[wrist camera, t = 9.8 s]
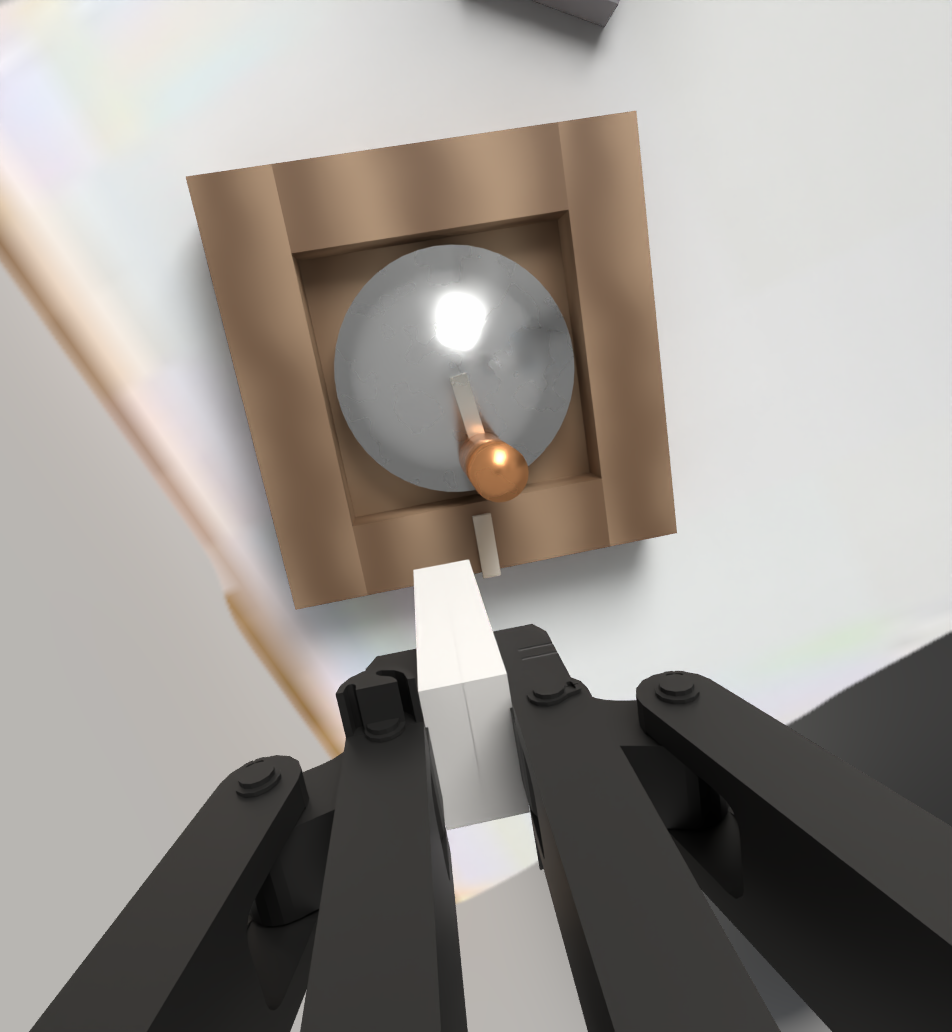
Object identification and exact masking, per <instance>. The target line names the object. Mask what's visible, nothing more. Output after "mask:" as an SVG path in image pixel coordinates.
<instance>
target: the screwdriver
mask: <svg viewBox="0 0 952 1032" xmlns="http://www.w3.org/2000/svg"><path fill="white" fill-rule="evenodd" d="M532 1H534V2H537V3H540V4H543V5H545V6H548V7H551V8H554V9H556V10H559V11H562V12H564V13H567V14H570V15H573V16H575V17H578V18H581V19H584V20H586V21H589V22H592V23H594V24H597V25H600V26H603V27H605V25H606V23H607V22H608V20H609V19H610V17H611V15H612V14H613V12H614V10H615V9H616V7H617V5H618V3H619V0H532Z"/></svg>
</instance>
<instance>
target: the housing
mask: <svg viewBox="0 0 952 1032" xmlns="http://www.w3.org/2000/svg"><path fill="white" fill-rule="evenodd" d="M186 180H187V184H188V188H189V192H190V196H191V200H192V204H193V208H194V211H195V215H196V219H197V223H198V227H199V231H200V235H201V239H202V243H203V247H204V251H205V255H206V259H207V263H208V267H209V271H210V274H211V278H212V282H213V286H214V290H215V294H216V298H217V302H218V306H219V310H220V314H221V318H222V322H223V326H224V330H225V334H226V337H227V341H228V345H229V349H230V353H231V357H232V361H233V365H234V369H235V373H236V377H237V381H238V385H239V389H240V393H241V397H242V400H243V404H244V408H245V412H246V416H247V420H248V424H249V428H250V432H251V436H252V440H253V444H254V448H255V452H256V456H257V460H258V463H259V467H260V471H261V475H262V479H263V483H264V487H265V491H266V495H267V499H268V503H269V507H270V511H271V515H272V519H273V523H274V526H275V530H276V534H277V538H278V542H279V546H280V550H281V554H282V558H283V562H284V566H285V570H286V574H287V578H288V582H289V586H290V589H291V593H292V597H293V601H294V605H295V609H296V610H297V609H302V608H307V607H312V606H317V605H321V604H326V603H331V602H336V601H341V600H346V599H351V598H356V597H361V596H366V595H371V594H376V593H381V592H386V591H391V590H396V589H401V588H406V587H411V586H414V572H413V570H416V569H421V568H426V567H432V566H437V565H442V564H448V563H453V562H458V561H463V560H469V561H470V564H471V567H472V570H473V573H474V574H475V573H480V572H482V574H483V578H484V579H485V578H490V577H495V576H500V575H501V571H500V568H505V567H510V566H515V565H520V564H525V563H530V562H535V561H540V560H545V559H550V558H555V557H560V556H565V555H570V554H575V553H580V552H585V551H590V550H595V549H600V548H605V547H610V546H615V545H620V544H625V543H630V542H634V541H639V540H644V539H649V538H654V537H659V536H664V535H669V534H674V533H677V529H676V518H675V508H674V497H673V487H672V477H671V466H670V456H669V446H668V435H667V425H666V414H665V404H664V394H663V383H662V373H661V363H660V352H659V342H658V331H657V321H656V311H655V300H654V290H653V280H652V269H651V259H650V249H649V238H648V228H647V217H646V207H645V197H644V186H643V176H642V166H641V155H640V145H639V134H638V124H637V114H636V111H631V112H624V113H617V114H611V115H604V116H597V117H590V118H583V119H576V120H570V121H563V122H556V123H549V124H542V125H535V126H529V127H522V128H515V129H508V130H501V131H494V132H488V133H481V134H474V135H467V136H460V137H453V138H447V139H440V140H433V141H426V142H419V143H412V144H406V145H399V146H392V147H385V148H378V149H371V150H365V151H358V152H351V153H344V154H337V155H331V156H324V157H317V158H310V159H303V160H296V161H290V162H283V163H276V164H269V165H262V166H255V167H249V168H242V169H235V170H228V171H221V172H214V173H208V174H201V175H194V176H187V177H186ZM441 245H468V246H473V247H479V248H484V249H487V250H489V251H492V252H495V253H498V254H500V255H502V256H504V257H506V258H508V259H510V260H512V261H514V262H516V263H517V264H519V265H520V266H521V267H523V268H524V269H526V270H527V271H528V272H529V273H531V274H532V275H533V276H534V277H535V278H536V279H537V280H538V281H539V282H540V283H541V284H542V285H543V286H544V288H545V289H546V290H547V291H548V292H549V294H550V295H551V297H552V298H553V300H554V301H555V303H556V304H557V306H558V308H559V310H560V312H561V314H562V316H563V318H564V320H565V322H566V325H567V328H568V331H569V334H570V338H571V343H572V348H573V355H574V384H573V390H572V395H571V400H570V403H569V407H568V410H567V413H566V416H565V418H564V420H563V422H562V424H561V427H560V429H559V430H558V432H557V434H556V435H555V437H554V438H553V440H552V442H551V443H550V444H549V445H548V447H547V448H546V449H545V450H544V452H543V453H542V454H541V455H540V456H539V457H538V458H537V459H536V460H535V461H534V462H533V463H532V464H530V465H529V466H528V471H529V474H528V481H527V484H526V486H525V488H524V489H523V491H522V492H521V493H520V494H519V495H518V496H517V497H515V498H513V499H512V500H509V501H506V502H493V501H489V500H487V499H485V498H484V497H482V496H481V495H480V494H479V493H478V492H477V491H476V490H472V491H464V492H446V491H438V490H432V489H428V488H424V487H420V486H417V485H414V484H412V483H410V482H407V481H405V480H403V479H401V478H399V477H397V476H396V475H394V474H392V473H390V472H389V471H388V470H386V469H385V468H384V467H382V466H381V465H380V464H378V463H377V462H376V461H375V460H374V459H373V458H372V457H371V456H370V455H369V454H368V453H367V452H366V451H365V450H364V448H363V447H362V446H361V445H360V443H359V442H358V441H357V440H356V438H355V436H354V435H353V433H352V431H351V430H350V428H349V426H348V424H347V422H346V420H345V417H344V415H343V413H342V410H341V407H340V403H339V400H338V397H337V391H336V385H335V377H334V359H335V349H336V343H337V339H338V335H339V331H340V328H341V325H342V323H343V320H344V317H345V315H346V313H347V311H348V309H349V307H350V306H351V304H352V302H353V300H354V299H355V297H356V296H357V295H358V293H359V292H360V291H361V289H362V288H363V286H364V285H365V284H366V283H367V282H368V281H369V280H370V279H371V278H372V277H373V276H374V275H375V274H376V273H378V272H379V271H380V270H382V269H383V268H384V267H386V266H387V265H388V264H390V263H391V262H393V261H395V260H397V259H399V258H400V257H402V256H404V255H407V254H409V253H412V252H414V251H417V250H420V249H424V248H428V247H433V246H441Z"/></svg>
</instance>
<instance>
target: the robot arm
mask: <svg viewBox="0 0 952 1032" xmlns="http://www.w3.org/2000/svg"><path fill="white" fill-rule="evenodd" d="M413 572H414V598H415V623H416V649H413V650H407V651H402V652H397V653H392V654H387V655H382V656H377V657H376V658H375V659H374V660H373V662H372V663H371V664H370V665H369V666H368V667H367V669H366V671H364V672H361V673H359V674H357V675H355V676H353V677H351V678H349V679H348V680H347V681H346V682H344V683H343V684H342V685H341V686H340V687H339V689H338V691H337V692H336V698H337V702H338V706H339V710H340V714H341V719H342V723H343V727H344V731H345V735H346V741H345V748H344V752H343V753H341V754H340V755H338V756H337V757H335V758H334V759H332V760H330V761H328V762H326V763H324V764H322V765H320V766H317V767H315V768H312V769H310V770H307V771H305V772H303V773H302V769H301V766H300V764H299V761H298V760H296V759H294V758H292V757H290V756H279V755H276V756H270V757H262V758H259V759H256V760H255V761H251V762H248V763H246V764H245V765H243V766H242V767H240V768H239V769H237V770H235V771H234V772H232V773H231V774H230V775H229V776H228V777H227V778H226V779H225V780H223V781H222V783H220V785H219V786H218V787H217V789H216V790H215V791H214V792H213V794H212V795H211V796H210V797H209V799H208V800H207V802H206V803H205V804H204V806H203V807H202V808H201V809H200V810H199V812H198V813H197V814H196V816H195V817H194V818H193V820H192V821H191V822H190V824H189V825H188V826H187V828H186V829H185V830H184V831H183V833H182V834H181V835H180V836H179V838H178V839H177V840H176V842H175V843H174V844H173V846H172V847H171V848H170V849H169V851H168V852H167V853H166V855H165V856H164V857H163V859H162V860H161V861H160V863H159V864H158V865H157V866H156V868H155V869H154V870H153V871H152V873H151V874H150V875H149V877H148V878H147V879H146V881H145V882H144V883H143V884H142V886H141V887H140V888H139V890H138V891H137V892H136V894H135V895H134V896H133V897H132V899H131V900H130V901H129V903H128V904H127V905H126V907H125V908H124V909H123V910H122V912H121V913H120V914H119V916H118V917H117V918H116V920H115V921H114V922H113V924H112V925H111V926H110V928H109V929H108V930H107V931H106V932H105V934H104V935H103V936H102V938H101V939H100V940H99V942H98V943H97V944H96V946H95V947H94V948H93V949H92V951H91V952H90V953H89V955H88V956H87V957H86V959H85V960H84V961H83V962H82V964H81V965H80V966H79V968H78V969H77V970H76V971H75V973H74V974H73V975H72V977H71V978H70V979H69V981H68V982H67V983H66V984H65V986H64V987H63V988H62V990H61V991H60V992H59V994H58V995H57V996H56V997H55V999H54V1000H53V1001H52V1003H51V1004H50V1005H49V1006H48V1008H47V1009H46V1011H45V1012H44V1013H43V1014H42V1016H41V1017H40V1018H39V1019H38V1021H37V1022H36V1023H35V1025H34V1026H33V1027H32V1029H31V1030H30V1031H29V1032H290V1031H291V1028H292V1026H293V1023H294V1020H295V1018H296V1015H297V1013H298V1010H299V1007H300V1005H301V1002H302V1000H303V997H304V995H305V992H306V998H305V1004H304V1011H303V1017H302V1024H301V1030H300V1032H468V1029H467V1019H466V1009H465V998H464V988H463V978H462V968H461V957H460V946H459V937H458V926H457V915H456V905H455V895H454V884H453V874H452V864H451V853H450V847H449V842H448V838H447V833H446V829H447V830H450V829H455V828H459V827H464V826H469V825H473V824H478V823H482V822H487V821H491V820H496V819H501V818H505V817H510V816H514V815H519V814H524V813H528V812H530V813H531V819H532V825H533V831H534V837H535V843H536V849H537V855H538V861H539V867H540V870H542V869H544V872H545V875H546V879H547V882H548V886H549V890H550V894H551V897H552V901H553V905H554V908H555V912H556V916H557V919H558V923H559V927H560V930H561V934H562V938H563V941H564V945H565V949H566V953H567V956H568V960H569V964H570V967H571V971H572V974H573V978H574V982H575V986H576V989H577V993H578V997H579V1000H580V1004H581V1008H582V1011H583V1015H584V1019H585V1022H586V1026H587V1030H588V1032H781V1031H780V1030H779V1028H778V1026H777V1024H776V1023H775V1021H774V1019H773V1017H772V1016H771V1014H770V1012H769V1010H768V1008H767V1007H766V1005H765V1003H764V1001H763V999H762V998H761V996H760V994H759V992H758V991H757V989H756V987H755V985H754V983H753V982H752V980H751V978H750V976H749V975H748V973H747V971H746V969H745V967H744V966H743V964H742V962H741V960H740V959H739V957H738V955H737V953H736V951H735V950H734V948H733V946H732V944H731V942H730V941H729V939H728V937H727V935H726V934H725V932H724V930H723V928H722V926H721V925H720V923H719V921H718V919H717V918H716V916H715V914H714V912H713V910H712V909H711V907H710V906H709V903H708V902H707V900H706V898H705V896H704V894H703V893H702V891H703V892H704V893H705V894H706V895H707V896H708V897H709V899H710V900H711V901H712V902H713V903H714V904H715V905H716V906H717V907H718V908H719V909H720V910H721V911H722V912H723V914H724V915H725V916H726V917H727V918H728V919H729V920H730V921H731V922H732V923H733V925H734V926H735V927H737V929H738V930H739V931H740V932H741V933H742V934H743V935H744V936H745V937H746V939H747V940H748V941H749V942H750V943H751V944H752V945H753V946H754V947H755V948H756V949H757V951H758V952H759V953H760V954H761V955H762V956H763V957H764V958H765V959H766V960H767V961H768V962H769V964H770V965H771V966H772V967H773V968H774V969H775V970H776V971H777V972H778V973H779V974H780V975H781V976H782V978H783V979H784V980H785V981H786V982H787V983H788V984H789V985H790V986H791V987H792V988H793V990H794V991H795V992H796V993H797V994H798V995H799V996H800V997H801V998H802V999H803V1000H804V1002H806V1004H807V1005H808V1006H809V1007H810V1008H811V1009H812V1010H813V1011H814V1012H815V1013H816V1015H817V1016H818V1017H819V1018H820V1019H821V1020H822V1021H823V1022H824V1023H825V1024H826V1025H827V1026H828V1027H829V1028H830V1030H831V1031H832V1032H952V827H951V826H949V825H948V824H946V823H945V822H943V821H941V820H940V819H938V818H936V817H935V816H933V815H931V814H930V813H928V812H927V811H925V810H923V809H922V808H920V807H918V806H916V805H915V804H913V803H912V802H910V801H908V800H907V799H905V798H903V797H902V796H900V795H899V794H897V793H895V792H894V791H892V790H890V789H889V788H887V787H886V786H884V785H882V784H881V783H879V782H877V781H876V780H874V779H872V778H871V777H869V776H867V775H866V774H864V773H863V772H861V771H859V770H858V769H856V768H855V767H853V766H851V765H850V764H848V763H846V762H845V761H843V760H841V759H840V758H838V757H837V756H835V755H833V754H832V753H830V752H828V751H826V750H825V749H823V748H822V747H820V746H819V745H817V744H815V743H814V742H812V741H810V740H809V739H807V738H805V737H804V736H802V735H800V734H799V733H797V732H796V731H794V730H792V729H790V728H789V727H787V726H786V725H784V724H783V723H781V722H779V721H778V720H776V719H774V718H773V717H771V716H770V715H768V714H766V713H765V712H763V711H761V710H760V709H758V708H756V707H755V706H753V705H752V704H750V703H748V702H747V701H745V700H743V699H742V698H740V697H738V696H737V695H735V694H734V693H732V692H730V691H729V690H727V689H725V688H724V687H722V686H720V685H719V684H717V683H716V682H714V681H712V680H711V679H708V678H706V677H704V676H701V675H699V674H694V673H688V672H684V671H675V672H673V671H668V672H664V673H661V674H656V675H653V676H651V677H649V678H647V679H645V680H643V681H642V682H641V683H640V684H639V686H638V687H637V688H636V699H637V700H632V701H614V700H603V699H598V698H594V697H592V695H591V694H590V692H589V690H588V688H587V687H586V686H585V685H584V684H583V683H582V682H581V681H579V680H576V679H574V678H571V677H570V675H569V673H568V671H567V669H566V668H565V666H564V664H563V662H562V660H561V658H560V656H559V654H558V653H557V651H556V649H555V647H554V645H553V644H552V641H551V639H550V638H549V636H548V634H547V632H546V631H544V630H543V629H541V628H539V627H537V626H535V625H533V624H530V625H525V626H520V627H515V628H510V629H504V630H499V631H494V632H493V631H492V628H491V625H490V622H489V619H488V616H487V612H486V609H485V606H484V603H483V600H482V597H481V594H480V591H479V588H478V585H477V582H476V579H475V576H474V573H473V570H472V567H471V564H470V561H469V560H463V561H458V562H453V563H448V564H442V565H437V566H432V567H426V568H421V569H416V570H413ZM528 803H529V804H528ZM529 807H530V810H529ZM445 825H446V828H445ZM701 890H702V891H701ZM306 990H307V991H306Z"/></svg>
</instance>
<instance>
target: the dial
mask: <svg viewBox="0 0 952 1032" xmlns="http://www.w3.org/2000/svg"><path fill="white" fill-rule="evenodd" d="M334 377H335V385H336V391H337V397H338V400H339V403H340V407H341V410H342V413H343V415H344V417H345V420H346V422H347V424H348V426H349V428H350V430H351V431H352V433H353V435H354V436H355V438H356V440H357V441H358V442H359V443H360V445H361V446H362V447H363V448H364V450H365V451H366V452H367V453H368V454H369V455H370V456H371V457H372V458H373V459H374V460H375V461H376V462H377V463H378V464H380V465H381V466H382V467H384V468H385V469H386V470H388V471H389V472H390V473H392V474H394V475H396V476H397V477H399V478H401V479H403V480H405V481H407V482H410V483H412V484H414V485H417V486H420V487H424V488H428V489H432V490H438V491H446V492H464V491H472V490H476V491H477V492H478V493H479V494H480V495H481V496H482V497H484V498H485V499H487V500H489V501H493V502H506V501H509V500H512V499H513V498H515V497H517V496H518V495H519V494H520V493H521V492H522V491H523V489H524V488H525V486H526V484H527V481H528V474H529V471H528V466H529V465H530V464H532V463H533V462H534V461H535V460H536V459H537V458H538V457H539V456H540V455H541V454H542V453H543V452H544V450H545V449H546V448H547V447H548V445H549V444H550V443H551V442H552V440H553V438H554V437H555V435H556V434H557V432H558V430H559V429H560V427H561V424H562V422H563V420H564V418H565V416H566V413H567V410H568V407H569V403H570V400H571V395H572V390H573V384H574V355H573V348H572V343H571V338H570V334H569V331H568V328H567V325H566V322H565V320H564V318H563V316H562V314H561V312H560V310H559V308H558V306H557V304H556V303H555V301H554V300H553V298H552V297H551V295H550V294H549V292H548V291H547V290H546V289H545V288H544V286H543V285H542V284H541V283H540V282H539V281H538V280H537V279H536V278H535V277H534V276H533V275H532V274H531V273H529V272H528V271H527V270H526V269H524V268H523V267H521V266H520V265H519V264H517V263H516V262H514V261H512V260H510V259H508V258H506V257H504V256H502V255H500V254H498V253H495V252H492V251H489V250H487V249H484V248H479V247H473V246H468V245H441V246H433V247H428V248H424V249H420V250H417V251H414V252H412V253H409V254H407V255H404V256H402V257H400V258H399V259H397V260H395V261H393V262H391V263H390V264H388V265H387V266H386V267H384V268H383V269H382V270H380V271H379V272H378V273H376V274H375V275H374V276H373V277H372V278H371V279H370V280H369V281H368V282H367V283H366V284H365V285H364V286H363V288H362V289H361V291H360V292H359V293H358V295H357V296H356V297H355V299H354V300H353V302H352V304H351V306H350V307H349V309H348V311H347V313H346V315H345V317H344V320H343V323H342V325H341V328H340V331H339V335H338V339H337V343H336V349H335V359H334Z"/></svg>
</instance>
